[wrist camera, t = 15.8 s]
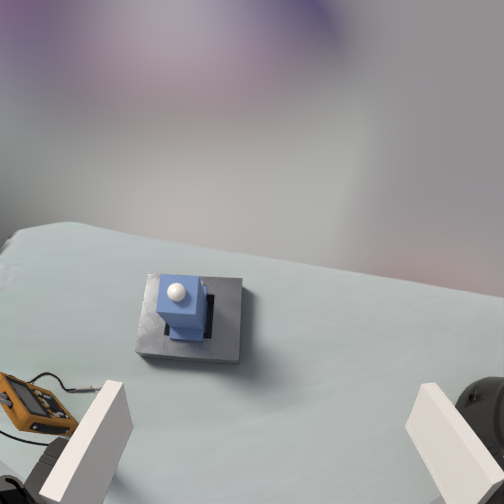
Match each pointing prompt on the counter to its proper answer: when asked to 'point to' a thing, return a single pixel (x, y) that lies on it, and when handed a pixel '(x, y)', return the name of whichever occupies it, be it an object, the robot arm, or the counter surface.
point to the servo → (183, 306)
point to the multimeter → (35, 408)
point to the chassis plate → (209, 350)
